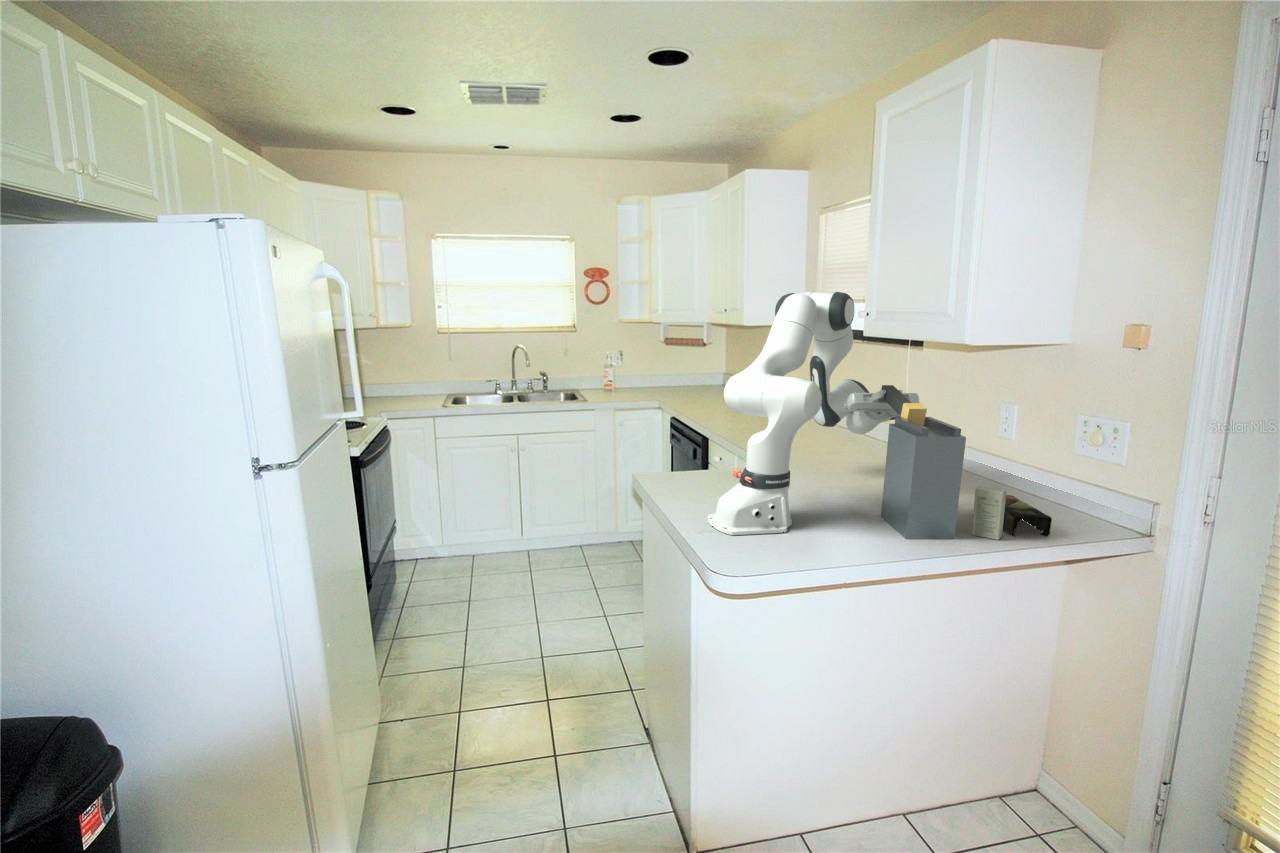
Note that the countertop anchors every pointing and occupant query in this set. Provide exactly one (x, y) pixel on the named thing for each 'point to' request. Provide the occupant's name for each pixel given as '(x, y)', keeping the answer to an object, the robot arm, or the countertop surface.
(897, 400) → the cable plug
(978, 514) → the skincare box
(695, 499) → the countertop surface
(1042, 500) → the countertop surface
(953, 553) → the countertop surface
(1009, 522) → the juice carton
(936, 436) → the grey tall box
